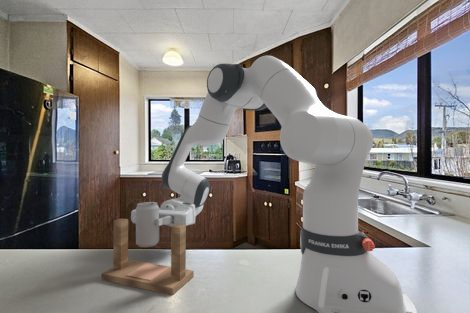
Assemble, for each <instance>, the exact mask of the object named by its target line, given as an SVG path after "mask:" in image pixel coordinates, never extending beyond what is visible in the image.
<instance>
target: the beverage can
mask: <svg viewBox="0 0 470 313" xmlns="http://www.w3.org/2000/svg"><path fill="white" fill-rule="evenodd" d="M159 208H160V207H159V205H158V202H156V201H146V202H138V203H137V204H136V207H135V209H136V224H135V244H136V246H138V247H140V248H150V247H155V246H156V245H157V244H158V243H159V242H160V226H157V225H155V219H157V218H159Z"/></svg>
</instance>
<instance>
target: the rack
mask: <svg viewBox="0 0 470 313" xmlns="http://www.w3.org/2000/svg"><path fill="white" fill-rule="evenodd" d="M186 228H187V226H186V225H179V224H176V225H174V226H172V227H171V230H170V236H171V237H170V259H171V260H170V266H169V265H168V266H167V265H163V264H156V263H152V262H151V263H150V262H146V261H145V262H144V261H138V260H133V259H129V219H128V218H118V219H113V252H112V255H113V261H112V264H113V266H112V268H109V269H108V270H106V271H104V272H102V273H101V281H106V282H110V283H114V284H120V285H124V286H129V287H133V288H137V289H142V290H143V289H144V290H148V291H152V292H155V293H161V294H166V295H171V296H174V295H175V294H177V292H179V291H180V289H182V288H183V287H184V286H185V285H186V284H187V283H189V281H190V280H192V279H193V278H194V274H195V273H194V270H192V269H187V268H186V266H187V261H186V258H187V255H186V253H187V249H186V248H187V247H186V246H187V245H186V244H187V241H186V240H187V232H186V231H187V229H186Z"/></svg>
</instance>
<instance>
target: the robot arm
mask: <svg viewBox="0 0 470 313" xmlns="http://www.w3.org/2000/svg"><path fill="white" fill-rule="evenodd" d="M206 88H207V93H206V95H205V98H204V99H203V102H202V104H201V107H200V110H199V112H198V113H199V114H198V116H197V119H196V120H195V122H194V123H193V124H192V125H188V126H187V127H186V128H185V130H184V131H183V133H182V134H181V137H180V138H179V141H178V142H177V145H175V146H176V147H175V149H174V151H173V153H172V155H171V158H170V160H169V162H168V163H167V165H166V166H165V168H164V169H163V171H162V174H161V183H162V185H163V187H164V188H165V189H167V190H170V191H172V192H175V193H176V194H178V195H180V196H179V197H174V198H171V199H168V200H165V201H163V202H162V203H161V204H160V207H159V218H157V219H155V225H157V226H159V227H160V226H162V225H164V226H166V227H172V226H174V225H176V224H179V225H186V227H187V226H190V225H194V224H196V217H197V216H198V215H199V214H200V213H201V212H202V210H203V208H204V204H205V203H206V202H207V200H208V198H209V195H210V192H211V186H210V185H211V184H210V182H209V180H208V178H207V177H204V176H203V175H201V174H199V173H197V172H194V171H193V170H191V169H189V168H187V167H186V166H185V162H186V160H187V158H188V156H189V154H190V153H191V150H192V148H193V147H194V146H196V145H205V146H206V145H215V144H218V143H221V142H222V141H224V139H225V138H226V136H227V135H228V132H229V130H230V127H231V124H232V120H233V117H234V114H235V112H236V111H237V110H239V109H243V111H263V110H265V109H268V110H269V111H270V112H271V114H272V115H273V116H274V117H275V118H276V119H277V121H278V122H279V124H280V126H281V128H280V133H279V142H280V146H281V148H282V151H283V152H284V154H285V155H286V156H287V157H288V158H290V159H292V160H294V161H297V162H299V163H303V164H307V165H314V166H315V167H314V170H313V173H312V176H311V178H310V182H309V183H308V184H307V185H306V186H305V188H304V190H303V193H302V226H301V228H300V231H299V234H300V239H299V242H300V244H299V245H300V253H301V260H300V261H301V262H300V268H299V274H298V278H297V283H296V285H295V288H294V291H295V294H296V296H297V298H299V300H300V301H302V303H304V304H305V305H307V306H308V307H311V308H312V309H313V310H315V311H316V312H317V313H418V311H417V308H416V306H415V303H413V301H412V300H411V299H410V298H409V297H408V295H407V294H406V293H404V292H403V290H402V286H401V283H400V280H399V279H398V276H397V274H395V272H394V270H392V269H391V267H389V265H387V264H386V263H384V262H383V260H381V259H380V258H378V257H377V256H376V255H375V254H373V252H372V251H374V250H375V247H376V246H375V243H374V241H373V240H372V239H370V238H369V236H368V235H367V234H365V233H364V232H363V231H360V230H359V195H360V194H359V193H360V186H361V182H362V176H363V173H364V168H365V164H366V160H367V157H368V155H369V153H370V152H371V150H372V148H373V146H374V136H373V133H372V130H370V128H369V127H368V126H367V125H366V124H365V123H363V122H362V121H361V120H360V119H357V118H355V117H352V116H348V115H343V114H340V113H337V112H334V111H333V110H332V109H329V108H328V107H327V106H325V105H324V104H323V103H322V101H320V99H319V97H318V92H317V90H316V89H315V87H314V86H312V84H310V83H309V82H308V81H307V80H306V79H305V78H303V77H302V75H300V73H298V72H297V71H296V70H295V69H294V68H292V67H291V66H290V65H289V64H288V63H285V62H284V61H283V60H281V59H279V58H277V57H275V56H273V55H263V56H260V57H258V58H257V59H255V60H254V61H253V63H252V64H251V66H250V67H247V68H245V67H242V65H241V64H240V63H218V64H216V65H215V66H213V67H212V69H211V70H210V72H209V74H208V75H207V78H206ZM130 213H131V214H130V220H131V222H132V224H135V225H136V208H135V209H132V210H131V212H130Z"/></svg>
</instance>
